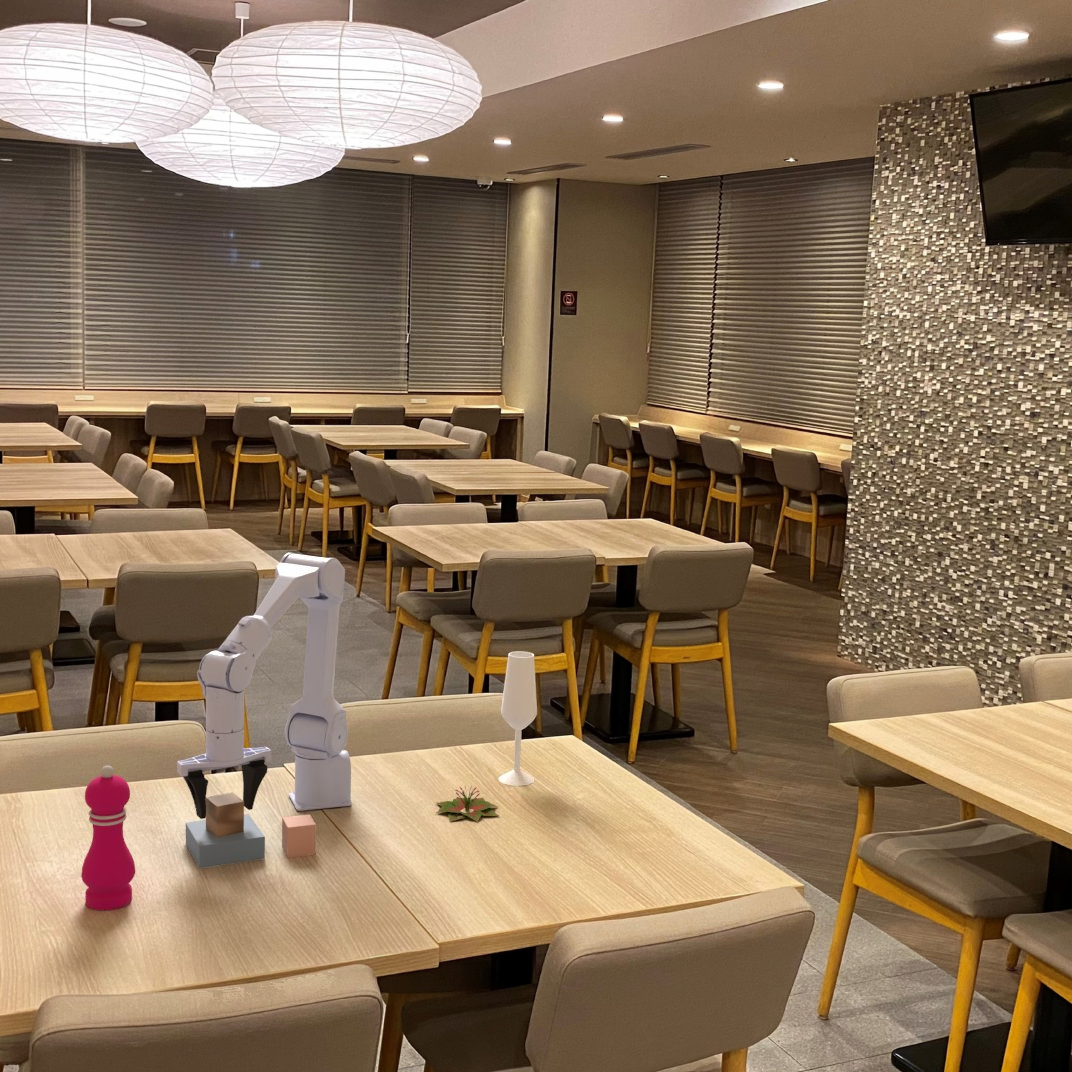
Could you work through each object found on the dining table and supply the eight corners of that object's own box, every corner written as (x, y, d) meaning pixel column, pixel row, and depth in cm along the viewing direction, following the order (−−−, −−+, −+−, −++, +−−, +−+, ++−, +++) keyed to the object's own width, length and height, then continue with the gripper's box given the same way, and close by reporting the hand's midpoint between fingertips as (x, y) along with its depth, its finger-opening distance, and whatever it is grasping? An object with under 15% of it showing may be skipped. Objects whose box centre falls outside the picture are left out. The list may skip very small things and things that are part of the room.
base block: (248, 837, 203) (248, 814, 202) (264, 861, 194) (264, 836, 194) (185, 846, 199) (185, 822, 198) (199, 871, 190) (199, 846, 189)
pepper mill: (85, 916, 173) (83, 777, 170) (78, 895, 179) (76, 760, 176) (139, 907, 176) (138, 770, 173) (130, 886, 183) (129, 754, 179)
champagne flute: (534, 786, 230) (539, 659, 227) (497, 785, 231) (502, 658, 227) (534, 774, 237) (539, 650, 233) (499, 772, 237) (503, 649, 234)
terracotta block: (309, 844, 201) (309, 814, 200) (315, 854, 197) (315, 824, 196) (281, 847, 199) (282, 817, 198) (287, 858, 195) (287, 827, 194)
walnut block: (232, 822, 199) (232, 792, 198) (243, 831, 195) (244, 801, 194) (205, 827, 196) (205, 797, 195) (216, 837, 193) (217, 806, 192)
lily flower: (488, 797, 225) (489, 773, 224) (511, 822, 214) (511, 796, 213) (424, 804, 221) (424, 779, 220) (443, 829, 210) (444, 803, 209)
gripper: (258, 714, 201) (258, 795, 203) (169, 727, 192) (170, 812, 194) (277, 726, 195) (276, 809, 197) (186, 740, 187) (186, 827, 189)
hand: (224, 812), depth 195 cm, fingers open, 7 cm apart
